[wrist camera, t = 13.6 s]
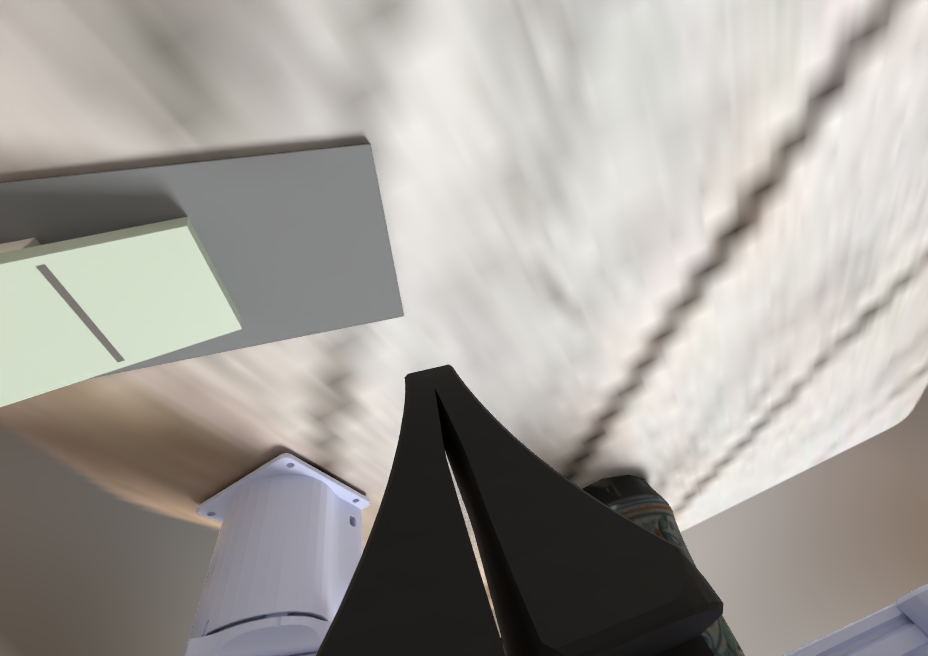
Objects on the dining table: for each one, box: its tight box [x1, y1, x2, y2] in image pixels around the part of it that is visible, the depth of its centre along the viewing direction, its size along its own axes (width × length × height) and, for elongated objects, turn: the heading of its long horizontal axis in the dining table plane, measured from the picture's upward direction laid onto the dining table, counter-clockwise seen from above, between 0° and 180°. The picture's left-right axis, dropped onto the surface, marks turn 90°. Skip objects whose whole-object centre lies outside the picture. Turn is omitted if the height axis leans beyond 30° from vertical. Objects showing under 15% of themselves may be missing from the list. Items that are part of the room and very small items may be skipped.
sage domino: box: [0, 216, 242, 407], centre depth 14 cm, size 2×5×9 cm
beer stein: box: [582, 475, 745, 656], centre depth 35 cm, size 16×19×25 cm
